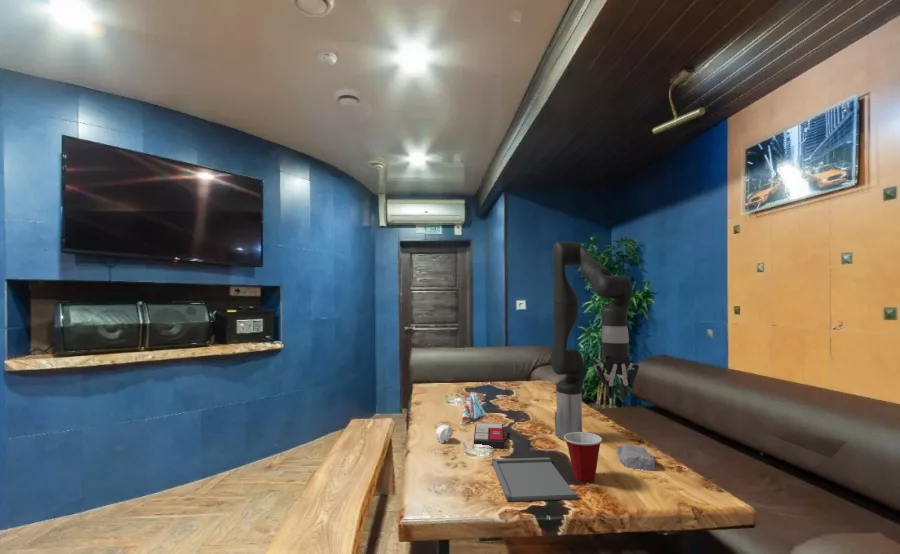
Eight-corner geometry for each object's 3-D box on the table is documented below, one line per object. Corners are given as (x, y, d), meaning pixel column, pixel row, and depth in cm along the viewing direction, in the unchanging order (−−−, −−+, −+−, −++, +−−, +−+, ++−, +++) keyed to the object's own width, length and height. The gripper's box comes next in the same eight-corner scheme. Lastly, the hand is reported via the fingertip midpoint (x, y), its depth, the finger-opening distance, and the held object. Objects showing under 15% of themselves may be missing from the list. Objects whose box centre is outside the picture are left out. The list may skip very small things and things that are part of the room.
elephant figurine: (457, 441, 133) (457, 425, 133) (440, 446, 128) (440, 430, 128) (447, 435, 138) (447, 420, 138) (430, 441, 133) (430, 424, 134)
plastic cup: (579, 465, 113) (578, 427, 114) (611, 480, 104) (609, 438, 105) (556, 475, 107) (556, 434, 108) (588, 491, 98) (586, 446, 99)
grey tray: (549, 461, 116) (549, 457, 116) (577, 499, 94) (577, 494, 94) (492, 463, 115) (492, 459, 115) (507, 501, 93) (507, 497, 93)
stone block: (625, 475, 111) (659, 471, 109) (621, 459, 111) (654, 455, 110) (615, 459, 122) (646, 456, 121) (611, 445, 123) (642, 441, 121)
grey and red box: (473, 438, 127) (475, 421, 142) (473, 450, 127) (475, 432, 142) (504, 439, 126) (503, 422, 141) (504, 451, 126) (503, 433, 141)
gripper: (630, 339, 113) (632, 394, 112) (587, 339, 112) (588, 395, 111) (644, 341, 106) (646, 400, 104) (598, 342, 105) (600, 401, 104)
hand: (616, 397), depth 108 cm, fingers open, 3 cm apart
